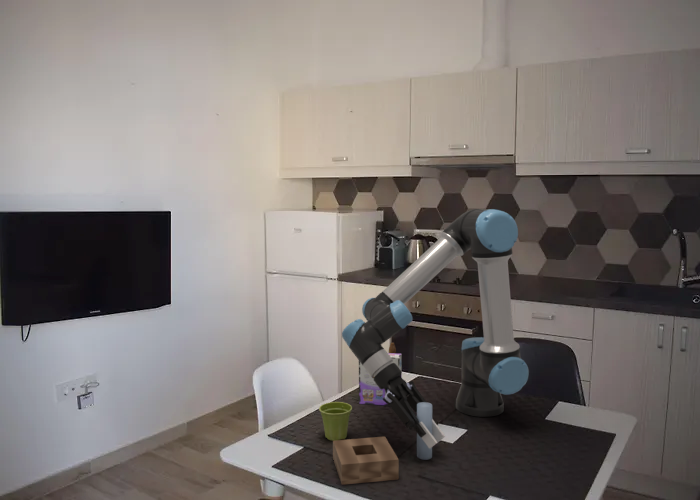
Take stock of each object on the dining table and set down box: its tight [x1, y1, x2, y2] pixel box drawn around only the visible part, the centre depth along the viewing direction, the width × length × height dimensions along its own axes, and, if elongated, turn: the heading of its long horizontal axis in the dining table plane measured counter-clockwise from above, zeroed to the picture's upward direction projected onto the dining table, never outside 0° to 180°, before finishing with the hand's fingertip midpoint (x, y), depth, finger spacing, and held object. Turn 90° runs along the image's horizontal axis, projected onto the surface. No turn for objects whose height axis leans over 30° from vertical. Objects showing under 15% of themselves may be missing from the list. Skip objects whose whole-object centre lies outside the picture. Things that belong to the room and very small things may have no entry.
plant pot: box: [318, 401, 353, 442], centre depth 168 cm, size 9×9×9 cm
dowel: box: [416, 401, 433, 461], centre depth 155 cm, size 4×4×14 cm
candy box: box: [358, 352, 403, 407], centre depth 196 cm, size 14×6×16 cm, turn 77°
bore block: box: [332, 436, 400, 486], centre depth 148 cm, size 14×14×5 cm
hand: (437, 442), depth 153 cm, fingers closed on dowel, 4 cm apart
